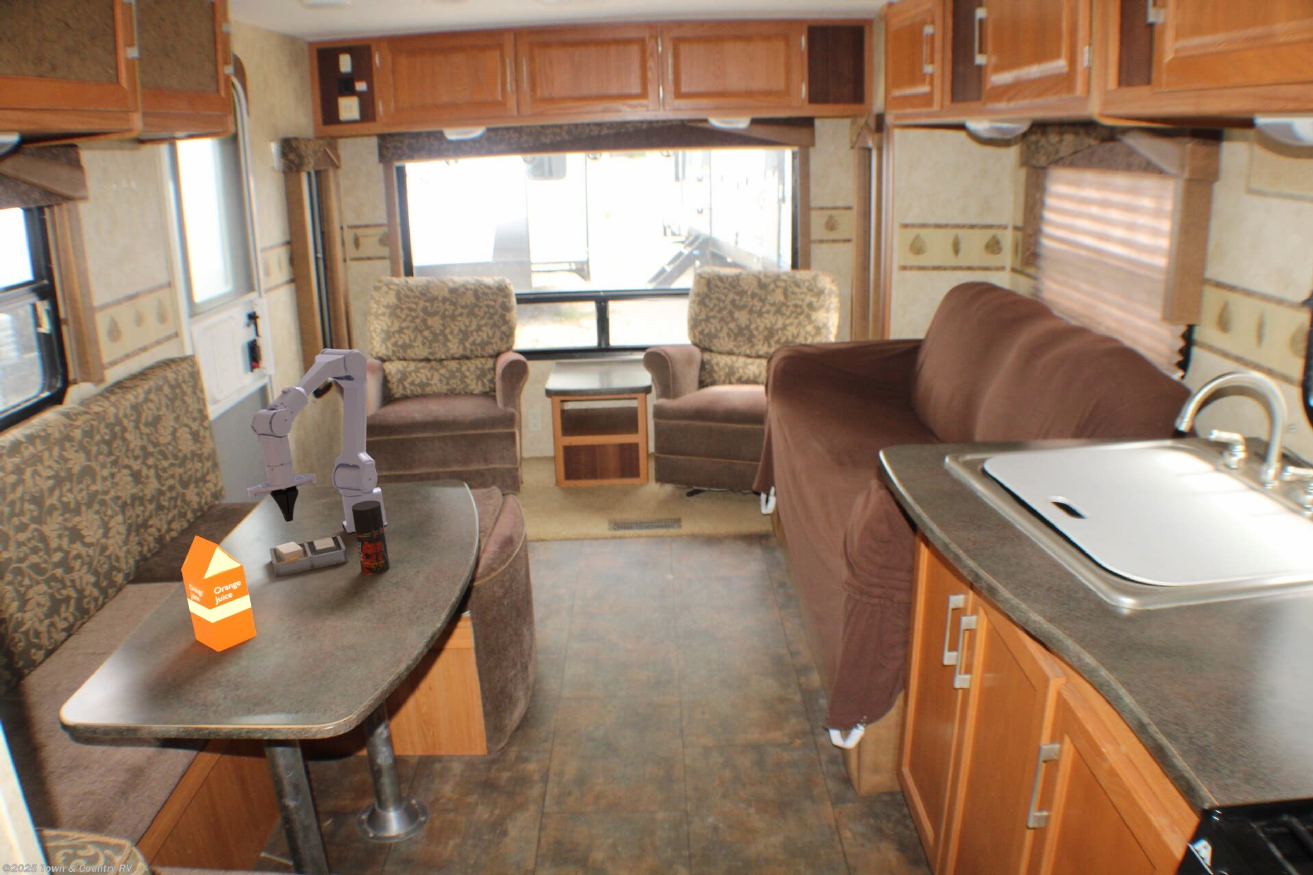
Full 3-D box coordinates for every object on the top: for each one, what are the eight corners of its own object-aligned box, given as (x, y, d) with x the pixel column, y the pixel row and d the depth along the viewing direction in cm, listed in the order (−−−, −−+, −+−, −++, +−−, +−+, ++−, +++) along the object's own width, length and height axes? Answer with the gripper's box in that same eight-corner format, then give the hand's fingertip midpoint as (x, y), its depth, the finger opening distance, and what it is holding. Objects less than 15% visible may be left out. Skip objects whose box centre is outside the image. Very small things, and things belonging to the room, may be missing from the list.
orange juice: (234, 623, 186) (215, 528, 180) (257, 635, 180) (238, 537, 175) (195, 639, 180) (174, 542, 174) (217, 652, 174) (196, 552, 169)
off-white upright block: (296, 555, 216) (293, 541, 215) (304, 562, 212) (302, 548, 211) (278, 560, 214) (275, 546, 213) (286, 568, 210) (284, 553, 209)
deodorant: (355, 572, 206) (345, 508, 202) (375, 562, 211) (365, 499, 207) (376, 576, 204) (366, 511, 199) (395, 566, 209) (386, 502, 204)
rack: (340, 545, 222) (338, 532, 221) (348, 561, 213) (345, 547, 212) (271, 560, 216) (269, 546, 215) (275, 577, 206) (273, 562, 205)
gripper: (306, 451, 216) (315, 507, 219) (239, 466, 208) (250, 523, 212) (315, 458, 210) (325, 515, 214) (247, 473, 202) (258, 532, 206)
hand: (288, 520), depth 212 cm, fingers closed
